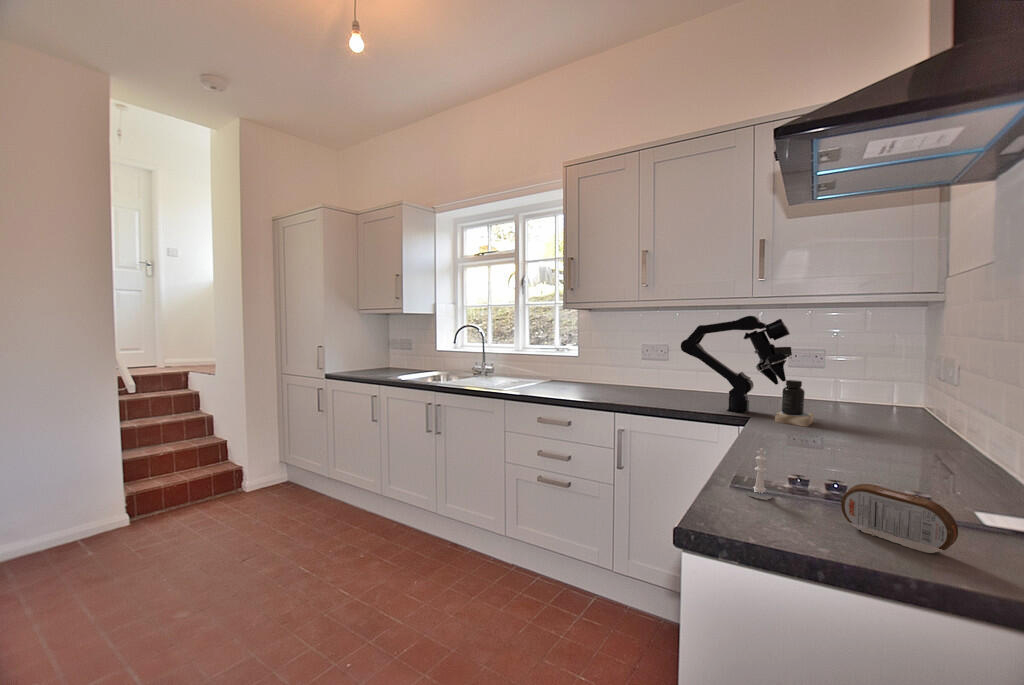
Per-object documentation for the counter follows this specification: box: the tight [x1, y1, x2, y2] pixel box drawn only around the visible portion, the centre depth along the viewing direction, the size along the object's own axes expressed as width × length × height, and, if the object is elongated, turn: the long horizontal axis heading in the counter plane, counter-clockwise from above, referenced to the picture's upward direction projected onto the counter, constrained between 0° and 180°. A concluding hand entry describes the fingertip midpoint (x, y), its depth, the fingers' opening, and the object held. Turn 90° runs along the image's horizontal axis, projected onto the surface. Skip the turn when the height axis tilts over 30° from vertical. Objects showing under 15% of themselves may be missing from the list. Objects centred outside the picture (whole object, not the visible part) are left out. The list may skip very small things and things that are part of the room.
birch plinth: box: [774, 410, 815, 427], centre depth 166 cm, size 10×10×3 cm
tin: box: [840, 483, 959, 551], centre depth 76 cm, size 15×3×8 cm, turn 35°
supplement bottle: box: [781, 379, 806, 415], centre depth 165 cm, size 7×7×12 cm
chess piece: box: [752, 448, 767, 493], centre depth 95 cm, size 5×5×10 cm
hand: (780, 382), depth 173 cm, fingers open, 9 cm apart
